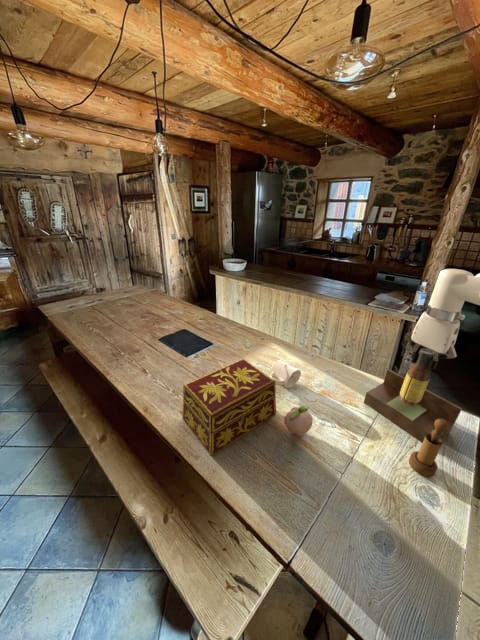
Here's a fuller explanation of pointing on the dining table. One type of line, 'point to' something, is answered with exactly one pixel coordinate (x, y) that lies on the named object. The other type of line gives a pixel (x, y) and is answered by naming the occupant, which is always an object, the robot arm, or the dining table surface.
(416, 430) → the shelf
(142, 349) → the dining table surface
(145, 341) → the dining table surface
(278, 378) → the mug
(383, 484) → the dining table surface
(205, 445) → the decorative box
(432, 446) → the mortar and pestle
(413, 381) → the sauce bottle
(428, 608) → the dining table surface
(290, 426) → the decorative fruit
